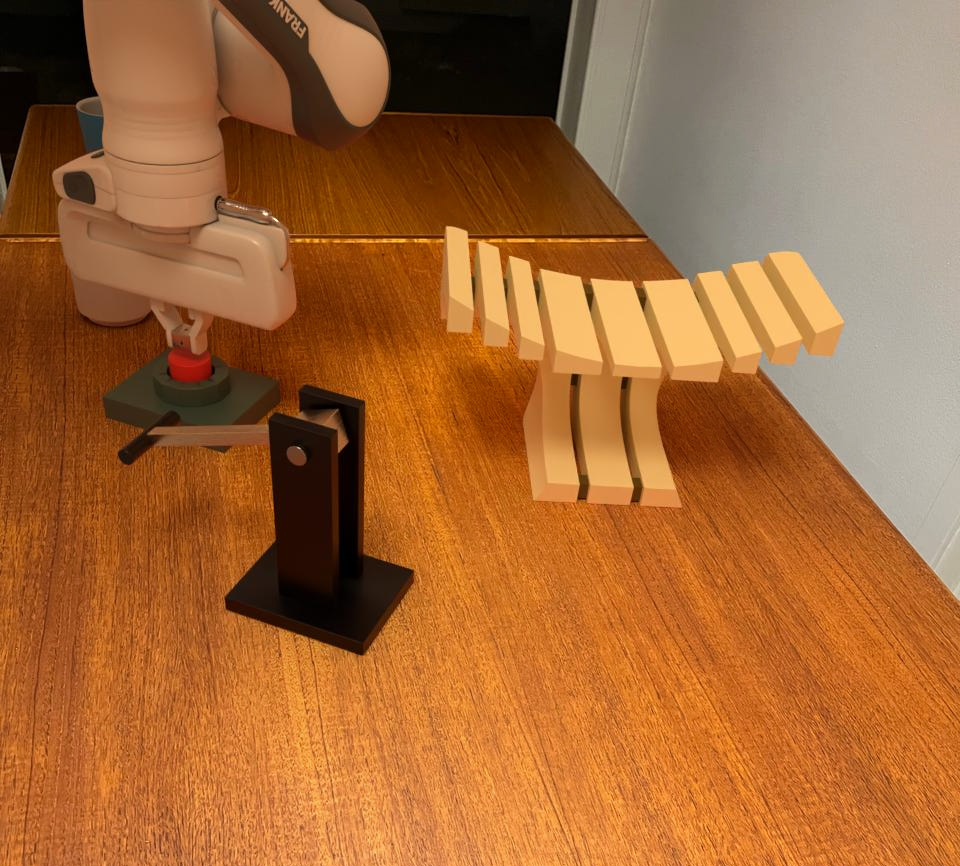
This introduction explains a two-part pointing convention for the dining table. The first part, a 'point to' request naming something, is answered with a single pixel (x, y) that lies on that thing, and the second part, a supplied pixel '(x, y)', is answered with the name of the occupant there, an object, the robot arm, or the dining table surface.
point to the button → (189, 366)
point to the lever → (217, 433)
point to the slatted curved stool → (627, 355)
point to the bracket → (320, 535)
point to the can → (109, 304)
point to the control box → (192, 397)
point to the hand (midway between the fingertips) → (188, 348)
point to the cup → (91, 123)
